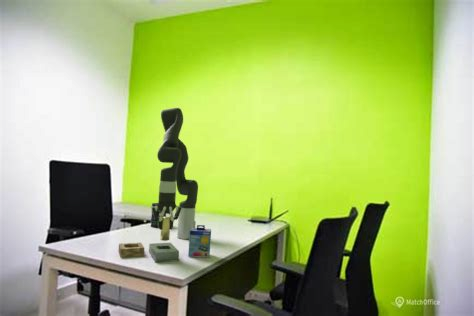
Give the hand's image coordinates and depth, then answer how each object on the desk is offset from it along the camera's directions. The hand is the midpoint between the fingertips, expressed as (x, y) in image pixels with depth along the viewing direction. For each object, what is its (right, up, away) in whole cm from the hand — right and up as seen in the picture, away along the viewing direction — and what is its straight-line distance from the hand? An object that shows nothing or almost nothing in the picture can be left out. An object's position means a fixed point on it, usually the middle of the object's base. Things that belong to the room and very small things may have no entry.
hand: (165, 228), depth 142 cm
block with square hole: (-1, -12, 0) cm, 12 cm away
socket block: (-16, -11, +1) cm, 20 cm away
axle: (0, -5, 0) cm, 5 cm away
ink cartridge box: (+15, -14, +4) cm, 20 cm away
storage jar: (-20, -13, +66) cm, 70 cm away
